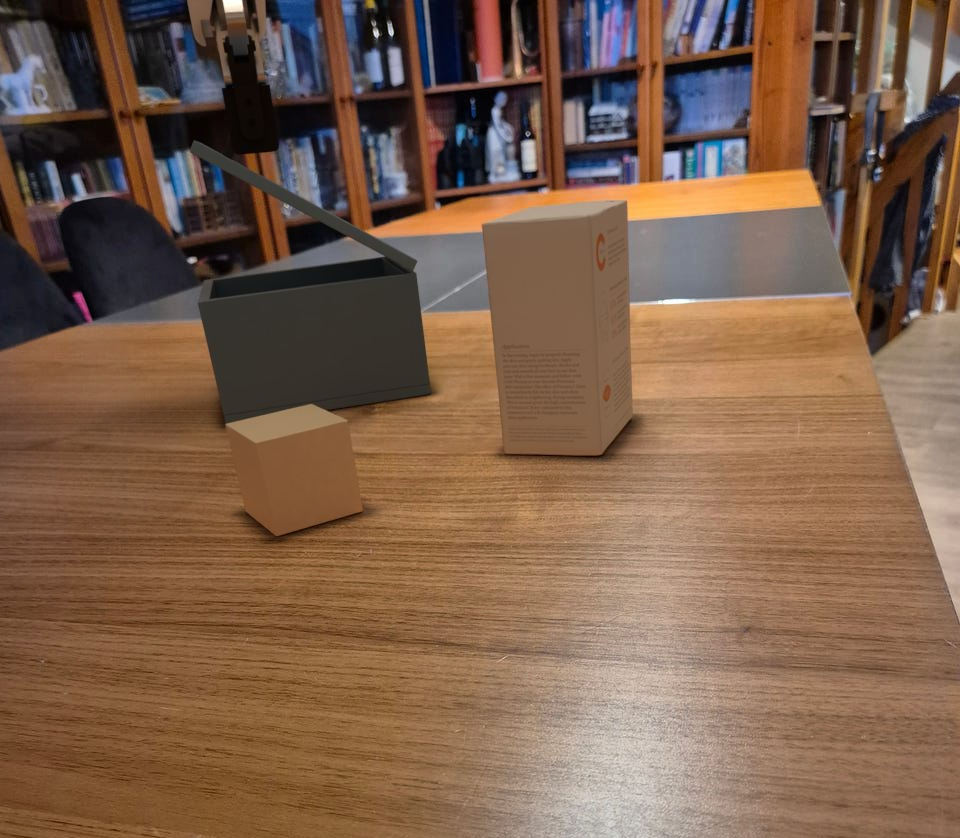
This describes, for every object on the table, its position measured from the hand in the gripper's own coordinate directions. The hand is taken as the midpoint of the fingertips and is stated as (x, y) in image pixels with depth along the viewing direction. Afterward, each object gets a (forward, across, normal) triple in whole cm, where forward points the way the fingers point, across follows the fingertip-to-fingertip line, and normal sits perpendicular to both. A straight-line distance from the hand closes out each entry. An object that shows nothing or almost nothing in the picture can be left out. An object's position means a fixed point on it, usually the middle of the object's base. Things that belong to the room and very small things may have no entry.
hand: (255, 149), depth 67 cm
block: (+18, +28, -1) cm, 33 cm away
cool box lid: (+4, 0, +3) cm, 5 cm away
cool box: (+18, 0, +2) cm, 18 cm away
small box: (+18, +23, +16) cm, 33 cm away
